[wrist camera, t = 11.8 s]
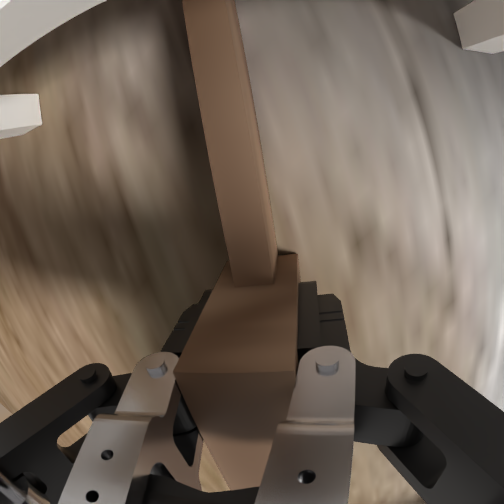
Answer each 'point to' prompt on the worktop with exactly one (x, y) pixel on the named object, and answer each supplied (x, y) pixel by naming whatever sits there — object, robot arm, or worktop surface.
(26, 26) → the white shelf
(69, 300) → the worktop surface
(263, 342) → the walnut push stick
